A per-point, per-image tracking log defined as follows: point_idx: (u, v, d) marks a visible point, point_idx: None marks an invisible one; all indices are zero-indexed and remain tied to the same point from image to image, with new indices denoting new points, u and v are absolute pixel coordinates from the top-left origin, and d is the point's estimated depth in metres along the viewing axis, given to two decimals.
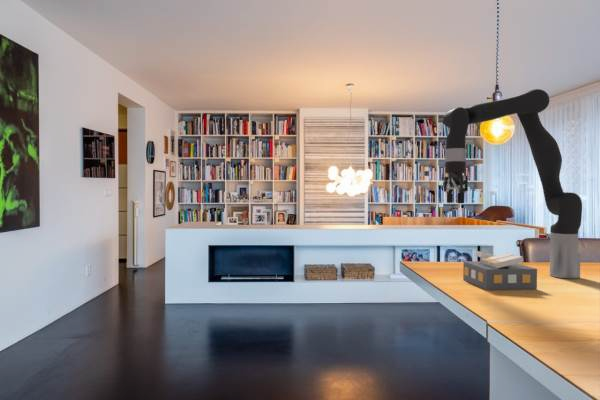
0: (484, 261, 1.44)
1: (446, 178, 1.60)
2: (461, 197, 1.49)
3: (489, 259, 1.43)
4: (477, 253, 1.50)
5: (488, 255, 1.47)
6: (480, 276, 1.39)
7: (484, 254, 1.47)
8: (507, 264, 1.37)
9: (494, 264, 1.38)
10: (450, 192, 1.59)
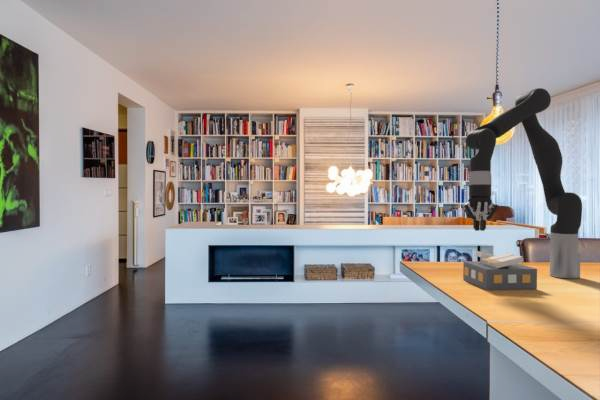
0: (484, 261, 1.44)
1: (467, 205, 1.47)
2: None
3: (489, 259, 1.43)
4: (477, 253, 1.50)
5: (488, 255, 1.47)
6: (480, 276, 1.39)
7: (484, 254, 1.47)
8: (507, 264, 1.37)
9: (494, 264, 1.38)
10: None
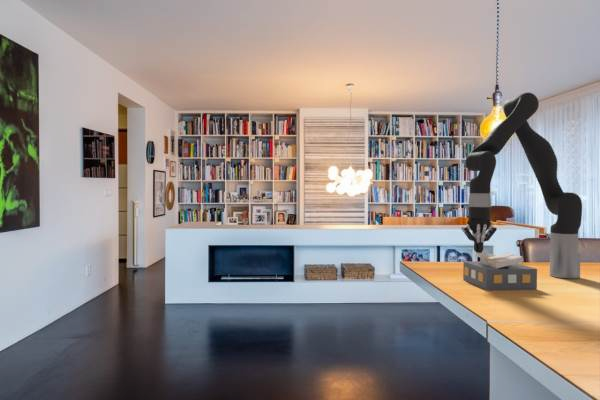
0: (484, 261, 1.44)
1: (467, 228, 1.48)
2: None
3: (489, 259, 1.43)
4: (477, 253, 1.50)
5: (488, 255, 1.47)
6: (480, 276, 1.39)
7: (484, 254, 1.47)
8: (507, 264, 1.37)
9: (494, 264, 1.38)
10: None
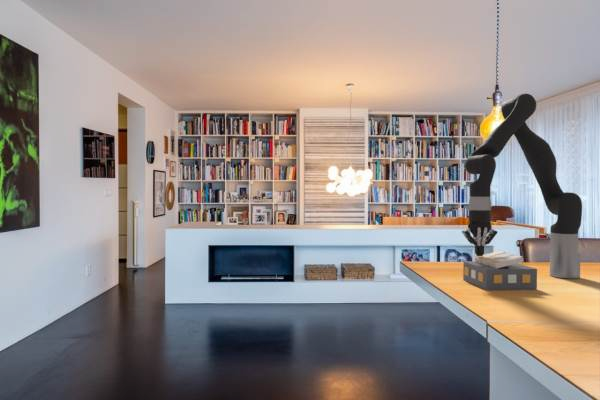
0: (484, 261, 1.44)
1: (467, 231, 1.47)
2: None
3: (489, 259, 1.43)
4: (476, 259, 1.50)
5: None
6: (480, 276, 1.39)
7: None
8: (507, 264, 1.37)
9: (494, 264, 1.38)
10: None
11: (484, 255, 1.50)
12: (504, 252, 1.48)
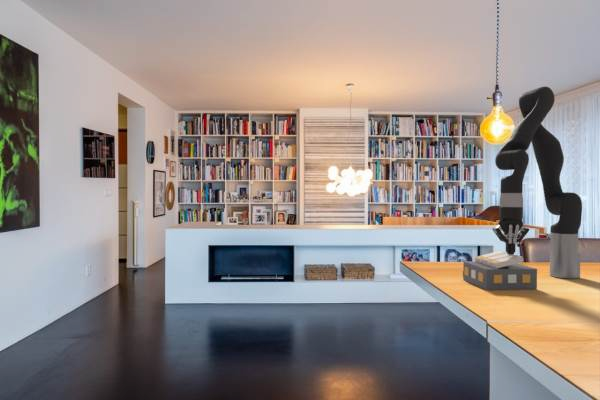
0: (484, 261, 1.44)
1: (498, 228, 1.43)
2: None
3: (489, 259, 1.43)
4: (476, 259, 1.50)
5: None
6: (480, 276, 1.39)
7: None
8: (507, 264, 1.37)
9: (494, 264, 1.38)
10: None
11: (484, 255, 1.50)
12: (504, 252, 1.48)
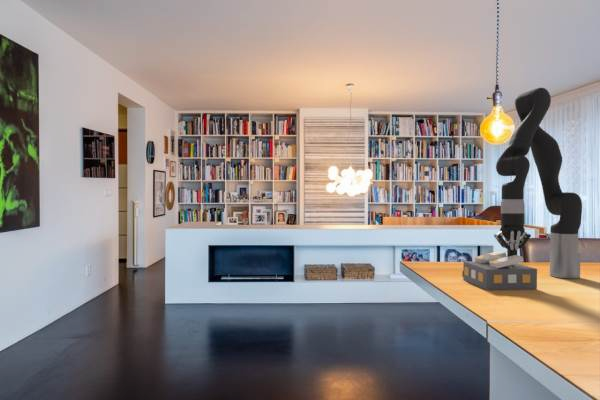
0: (485, 255, 1.44)
1: (500, 235, 1.43)
2: None
3: None
4: (476, 259, 1.50)
5: None
6: (480, 276, 1.39)
7: (482, 259, 1.47)
8: (507, 264, 1.37)
9: (494, 264, 1.38)
10: None
11: None
12: (504, 252, 1.48)
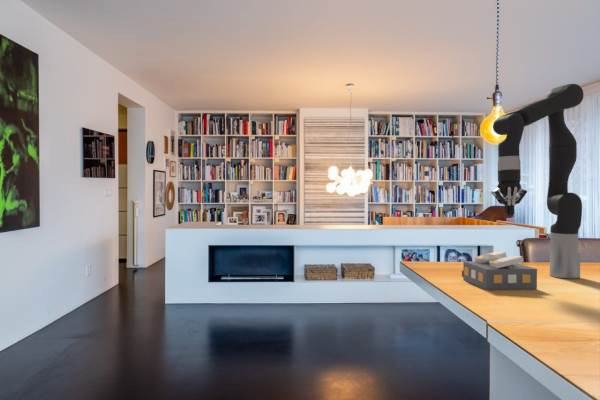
0: (486, 255, 1.44)
1: None
2: None
3: None
4: (476, 259, 1.50)
5: None
6: (480, 276, 1.39)
7: (482, 259, 1.47)
8: (507, 264, 1.37)
9: (494, 264, 1.38)
10: None
11: None
12: (504, 252, 1.48)
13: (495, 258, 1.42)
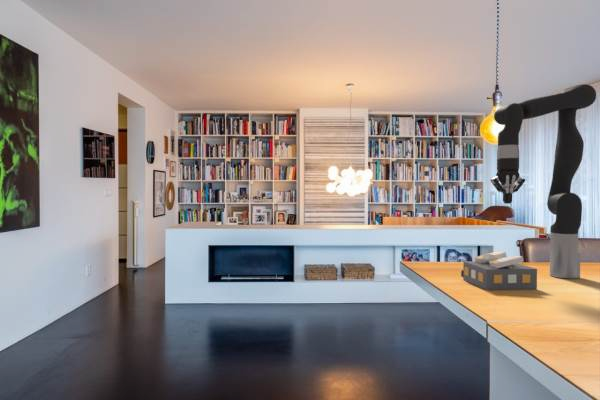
0: (486, 255, 1.44)
1: None
2: None
3: None
4: (476, 259, 1.50)
5: None
6: (480, 276, 1.39)
7: (482, 259, 1.47)
8: (507, 264, 1.37)
9: (494, 264, 1.38)
10: None
11: None
12: (504, 252, 1.48)
13: (495, 258, 1.42)
